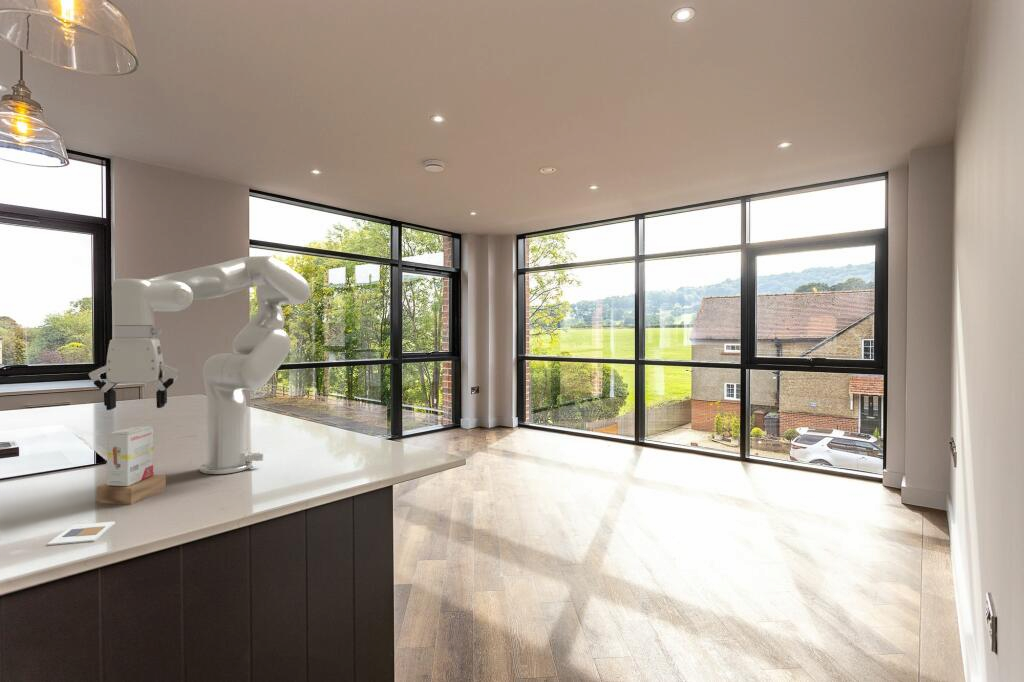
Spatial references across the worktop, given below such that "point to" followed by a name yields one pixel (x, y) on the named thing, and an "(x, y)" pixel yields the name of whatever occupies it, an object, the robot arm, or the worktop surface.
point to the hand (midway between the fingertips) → (136, 408)
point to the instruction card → (82, 533)
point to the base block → (131, 491)
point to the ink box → (130, 455)
